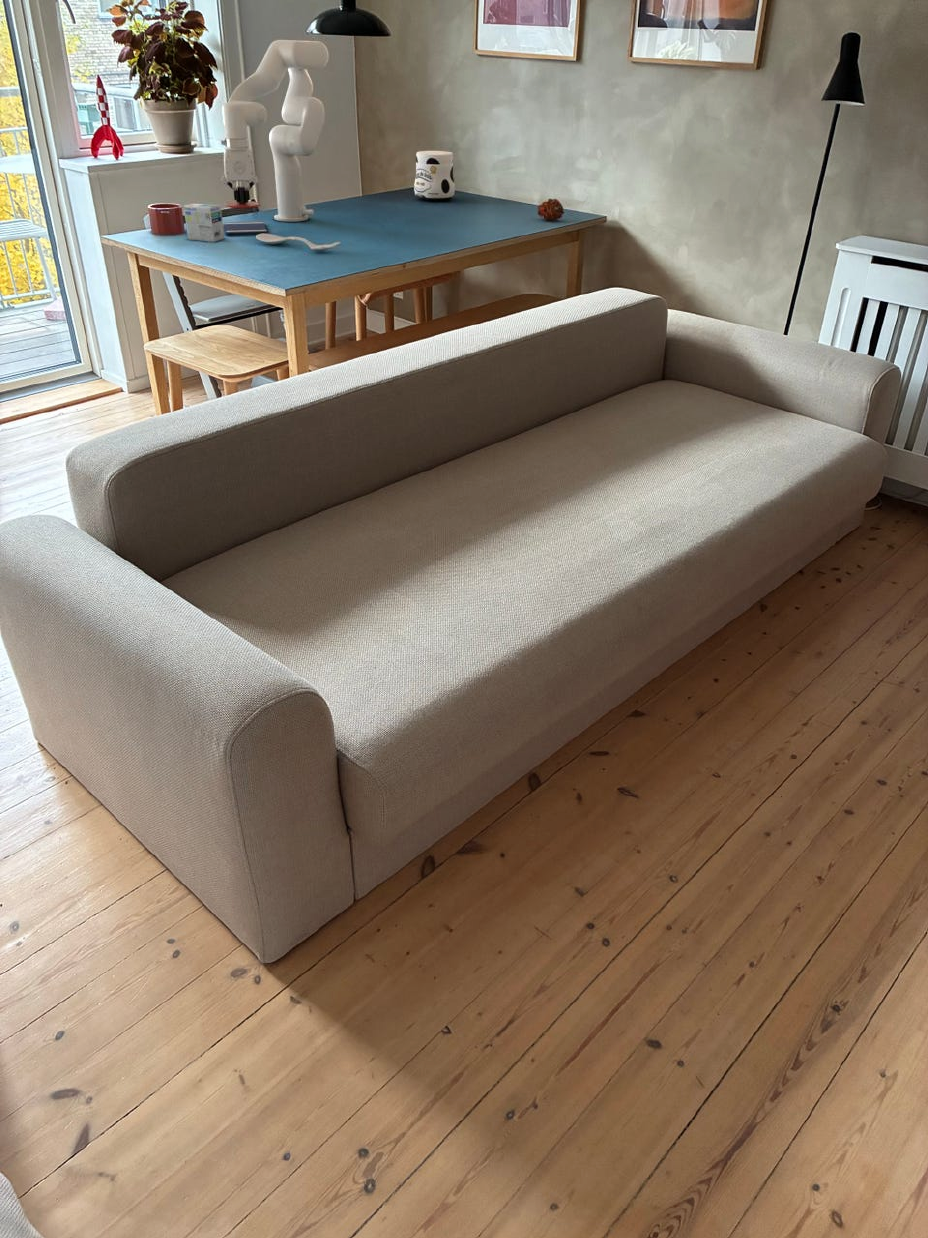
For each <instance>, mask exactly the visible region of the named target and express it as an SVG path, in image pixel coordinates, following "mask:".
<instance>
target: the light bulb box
mask: <svg viewBox="0 0 928 1238" xmlns="http://www.w3.org/2000/svg"><path fill="white" fill-rule="evenodd" d="M183 211H184V213H183V214H184V220H185V227H186V234H187V235H186V236H187V240H188V241H189V240H190V241H199V242H210V243H211V242H212V243H214V242H219V241H222V240H225V229H224V222H223V215H222V214H223V213H222V206H221V205H220V204H208V203H207V204H206V203H205V204H204V203H196V202H195V203H190V204H185V205H183Z"/></svg>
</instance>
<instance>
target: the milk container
mask: <svg viewBox="0 0 928 1238" xmlns="http://www.w3.org/2000/svg"><path fill="white" fill-rule="evenodd" d="M413 191H414V195H415V197H416V198H417V199H419V200H423V201H433V202H435V201H436V202H438V201H439V202H440V201H447V200H450V199H452V198H453V197H455V192H456V183H455V179H454V153H453V152H451V151H445V150H420V151H416V154H415V179H414V184H413Z"/></svg>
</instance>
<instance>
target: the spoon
mask: <svg viewBox="0 0 928 1238" xmlns="http://www.w3.org/2000/svg"><path fill="white" fill-rule="evenodd" d="M255 238H256V239H257V240H258V241H260V242H262V243H265V244H267V245H279V244H283V243H285V242H289V241H296V242H301V243H305V244H306V245H307V246H308V247H309V248H310V249H311V250H312V251H315V252H324V251H327V250H330V249H334V248H335V247H338V246H341V242H340V241H336V242H333V243H330V244H321V245H320V244H315V243H313V242H311V241H309V240H308V239H307V238H304V237H299V236H287V237H283V236H280V235H277V234H271V233H268V234H259V235H255Z"/></svg>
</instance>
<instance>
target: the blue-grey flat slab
mask: <svg viewBox="0 0 928 1238" xmlns="http://www.w3.org/2000/svg"><path fill="white" fill-rule="evenodd" d="M223 227H224V231H225V236H227V237H241V236H242V237H243V236H257V235H259V234H269V233H268V229H267V227H266V225H265V222H264V221H239V222H237V221H235V222H232V221H231V222H223Z"/></svg>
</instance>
